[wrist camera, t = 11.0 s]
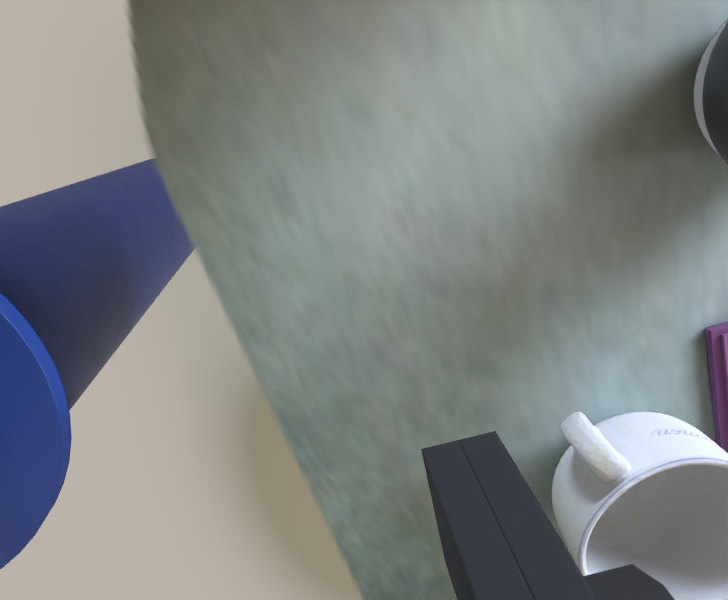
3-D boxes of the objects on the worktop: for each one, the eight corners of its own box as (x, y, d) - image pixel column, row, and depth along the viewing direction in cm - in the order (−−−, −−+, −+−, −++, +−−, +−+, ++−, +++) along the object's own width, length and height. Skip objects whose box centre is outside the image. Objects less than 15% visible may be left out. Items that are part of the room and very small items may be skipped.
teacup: (715, 487, 42) (806, 569, 35) (573, 566, 43) (632, 664, 35) (634, 320, 38) (718, 372, 31) (479, 411, 39) (522, 484, 31)
